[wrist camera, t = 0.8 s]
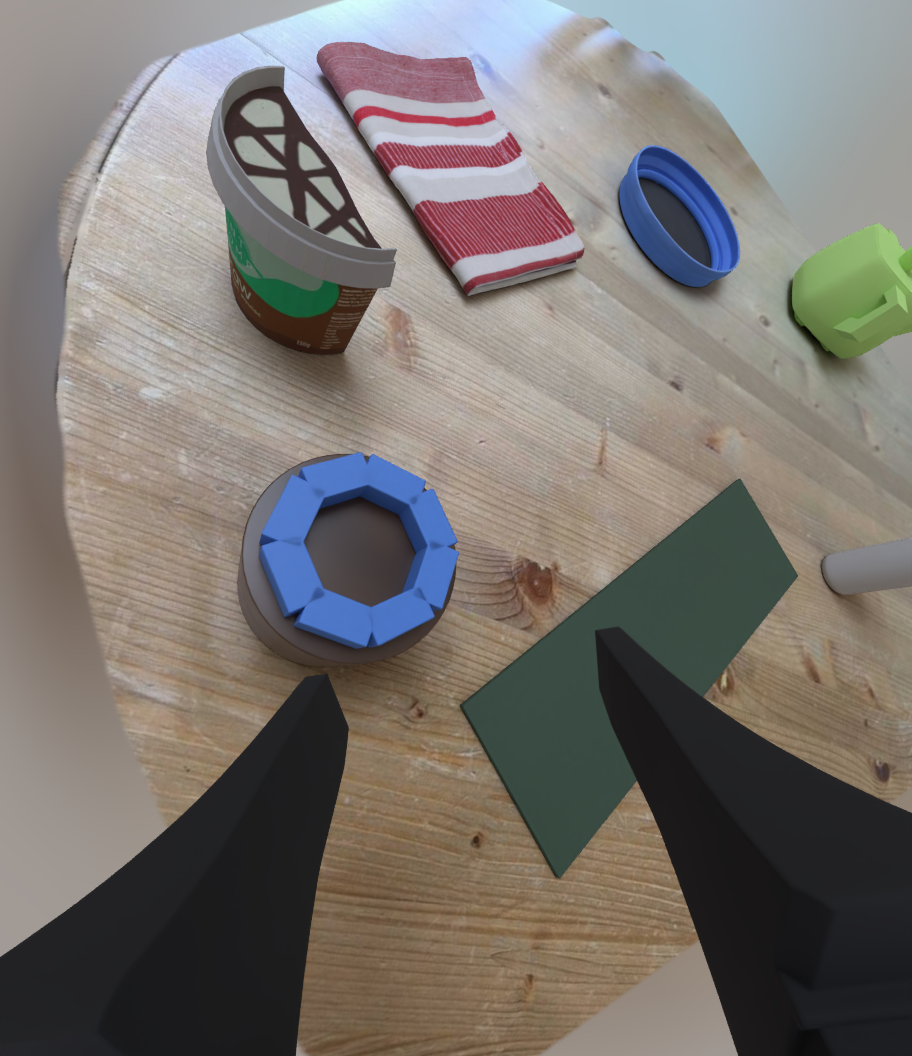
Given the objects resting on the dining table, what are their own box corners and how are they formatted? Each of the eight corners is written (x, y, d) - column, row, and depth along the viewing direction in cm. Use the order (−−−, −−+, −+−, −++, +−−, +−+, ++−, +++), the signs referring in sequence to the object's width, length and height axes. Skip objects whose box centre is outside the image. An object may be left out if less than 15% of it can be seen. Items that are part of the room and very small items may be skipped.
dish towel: (455, 79, 47) (467, 49, 45) (577, 269, 47) (595, 248, 45) (311, 69, 38) (317, 31, 36) (461, 303, 38) (476, 279, 36)
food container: (172, 230, 29) (150, 44, 20) (264, 221, 32) (278, 57, 24) (272, 395, 29) (292, 276, 20) (354, 369, 32) (402, 257, 24)
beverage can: (848, 599, 52) (1001, 581, 42) (823, 590, 51) (976, 568, 40) (840, 559, 54) (985, 532, 44) (816, 549, 52) (961, 518, 42)
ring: (411, 669, 21) (424, 668, 19) (228, 602, 18) (228, 596, 17) (459, 514, 24) (473, 504, 23) (311, 440, 22) (317, 424, 20)
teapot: (854, 326, 78) (959, 267, 67) (857, 406, 69) (979, 354, 58) (785, 254, 74) (886, 179, 62) (779, 330, 64) (895, 257, 53)
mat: (555, 876, 28) (559, 879, 28) (459, 705, 29) (462, 705, 28) (794, 576, 49) (798, 576, 48) (736, 479, 49) (740, 478, 49)
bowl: (599, 222, 52) (623, 194, 49) (627, 149, 60) (649, 121, 57) (708, 319, 56) (736, 299, 53) (720, 239, 64) (745, 218, 61)
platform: (352, 701, 26) (391, 708, 20) (194, 602, 24) (184, 577, 18) (435, 561, 31) (487, 533, 25) (309, 469, 29) (332, 414, 23)
